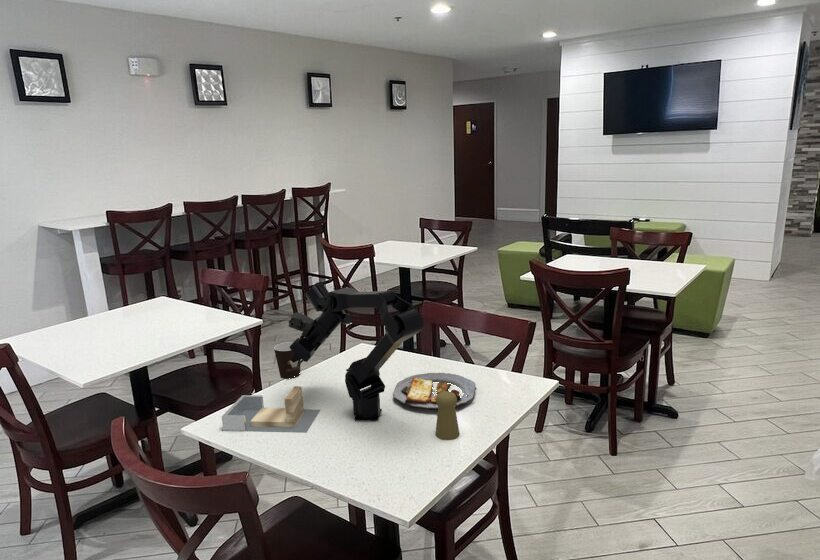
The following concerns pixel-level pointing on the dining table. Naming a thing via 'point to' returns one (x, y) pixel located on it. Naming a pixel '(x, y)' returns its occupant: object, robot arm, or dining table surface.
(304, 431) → the rubber mat
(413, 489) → the dining table surface
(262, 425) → the menu stand
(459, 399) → the food plate
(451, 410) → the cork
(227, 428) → the frame
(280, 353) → the coffee mug
